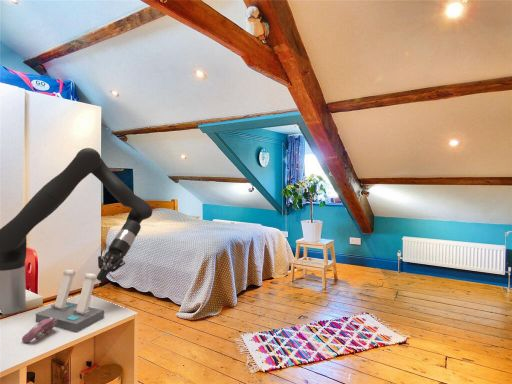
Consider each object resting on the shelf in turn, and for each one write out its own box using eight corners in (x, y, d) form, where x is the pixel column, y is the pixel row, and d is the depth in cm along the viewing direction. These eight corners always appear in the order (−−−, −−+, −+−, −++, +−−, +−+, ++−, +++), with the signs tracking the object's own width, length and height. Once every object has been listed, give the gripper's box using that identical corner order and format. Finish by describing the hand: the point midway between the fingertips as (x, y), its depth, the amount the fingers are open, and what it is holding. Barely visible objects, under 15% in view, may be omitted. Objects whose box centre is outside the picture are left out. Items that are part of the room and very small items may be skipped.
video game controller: (30, 349, 102) (38, 331, 101) (19, 341, 103) (27, 323, 102) (55, 333, 112) (62, 317, 111) (45, 326, 112) (52, 310, 112)
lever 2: (74, 312, 116) (85, 272, 120) (79, 312, 119) (90, 273, 122) (81, 314, 115) (92, 273, 119) (87, 314, 117) (97, 274, 121)
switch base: (35, 321, 117) (35, 309, 117) (65, 308, 128) (65, 297, 128) (76, 332, 110) (76, 319, 110) (103, 317, 121) (103, 306, 121)
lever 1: (52, 307, 120) (64, 268, 124) (58, 307, 122) (69, 269, 126) (59, 309, 119) (71, 270, 123) (65, 309, 121) (76, 270, 125)
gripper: (105, 236, 135) (80, 273, 124) (130, 239, 130) (107, 277, 119) (115, 245, 140) (92, 282, 129) (139, 249, 135) (117, 286, 125)
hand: (99, 279), depth 124 cm, fingers closed
